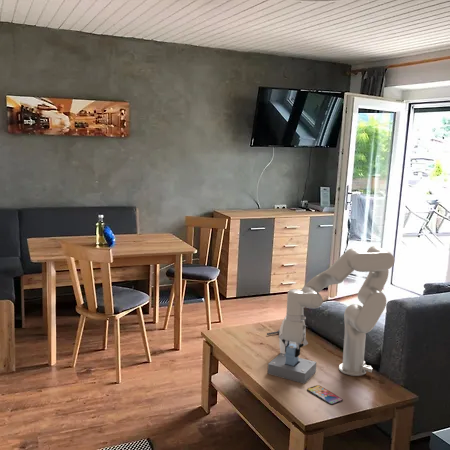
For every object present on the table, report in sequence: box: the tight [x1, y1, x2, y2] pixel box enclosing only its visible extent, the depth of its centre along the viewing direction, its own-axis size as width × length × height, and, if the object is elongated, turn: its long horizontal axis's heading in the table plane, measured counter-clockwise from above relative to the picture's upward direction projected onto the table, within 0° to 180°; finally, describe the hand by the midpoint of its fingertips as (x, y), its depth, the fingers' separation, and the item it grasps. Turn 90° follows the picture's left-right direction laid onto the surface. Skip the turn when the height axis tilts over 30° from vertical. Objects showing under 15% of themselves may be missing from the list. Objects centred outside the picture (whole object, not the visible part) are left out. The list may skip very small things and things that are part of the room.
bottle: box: [278, 316, 296, 354], centre depth 256 cm, size 11×11×25 cm
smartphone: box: [306, 384, 343, 406], centre depth 218 cm, size 7×1×15 cm
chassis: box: [267, 353, 317, 385], centre depth 238 cm, size 18×14×5 cm
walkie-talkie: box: [266, 329, 280, 336], centre depth 283 cm, size 9×4×20 cm
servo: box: [284, 343, 299, 366], centre depth 237 cm, size 4×9×8 cm, turn 150°
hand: (292, 354), depth 237 cm, fingers closed on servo, 4 cm apart
